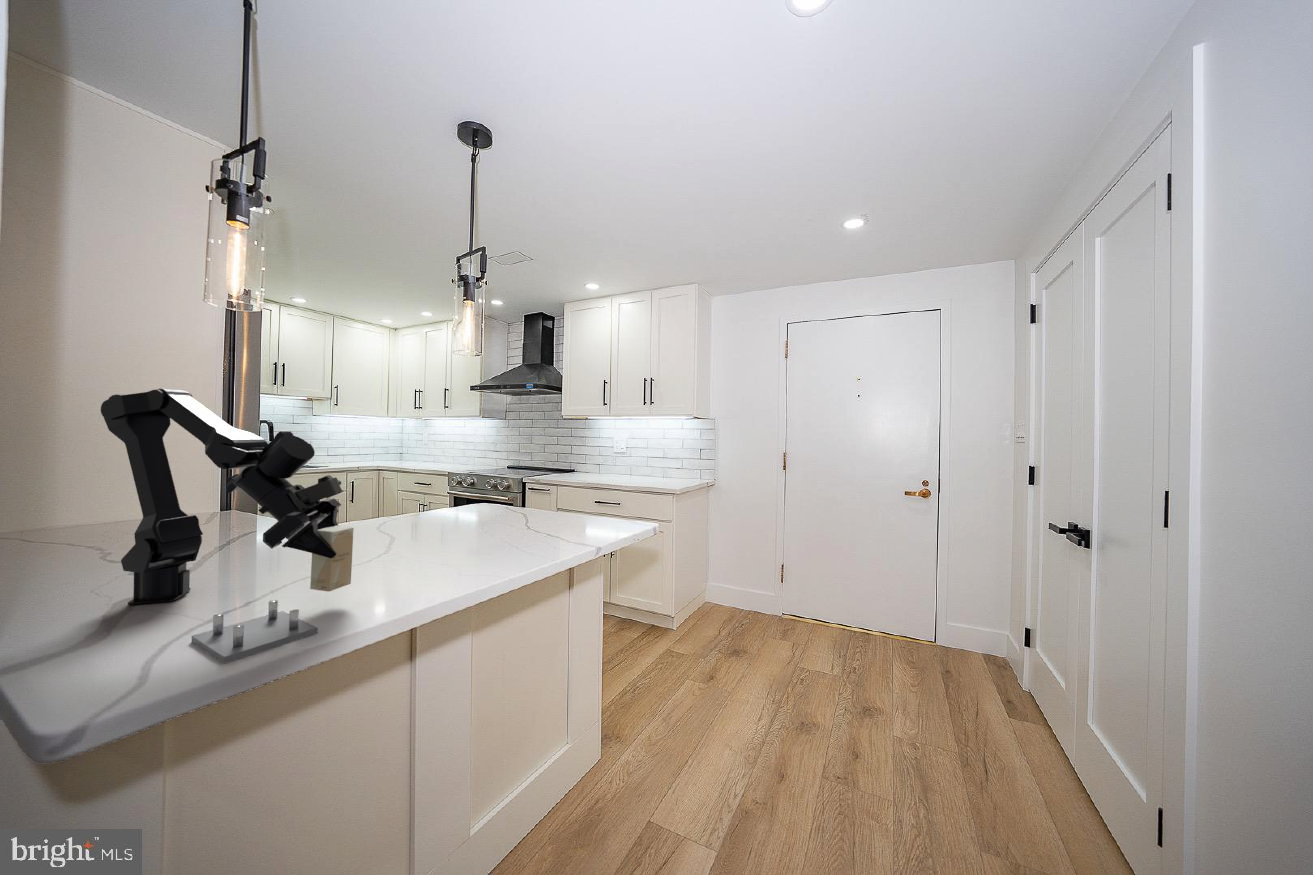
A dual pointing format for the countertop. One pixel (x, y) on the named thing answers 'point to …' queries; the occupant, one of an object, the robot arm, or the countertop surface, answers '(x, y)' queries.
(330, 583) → the box
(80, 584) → the countertop surface
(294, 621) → the pin tray
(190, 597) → the countertop surface
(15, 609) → the countertop surface
